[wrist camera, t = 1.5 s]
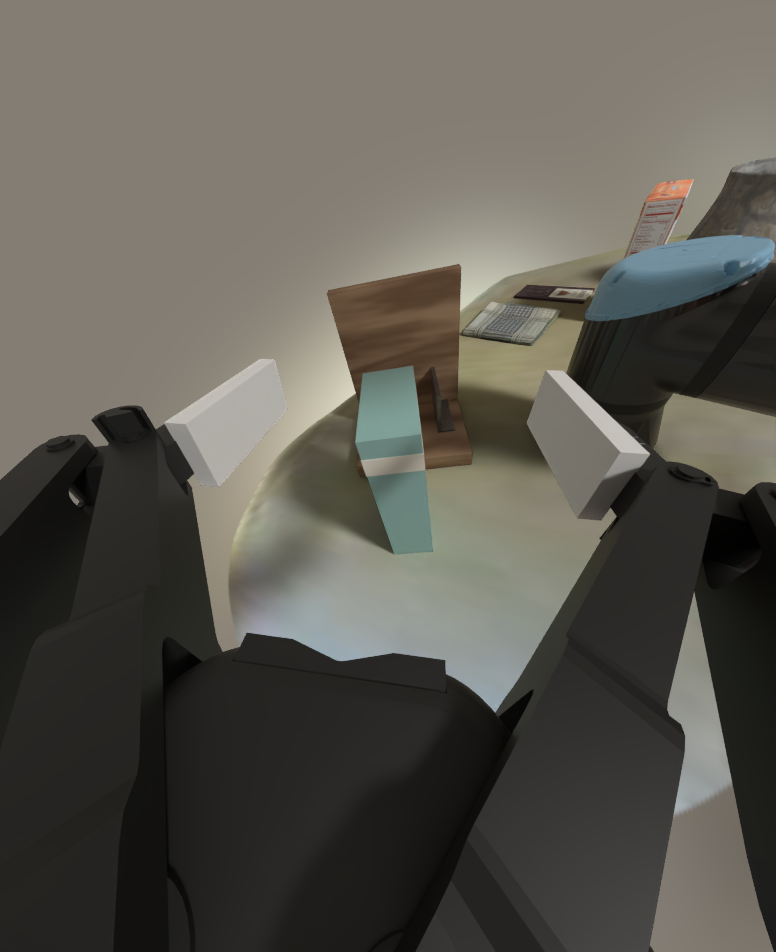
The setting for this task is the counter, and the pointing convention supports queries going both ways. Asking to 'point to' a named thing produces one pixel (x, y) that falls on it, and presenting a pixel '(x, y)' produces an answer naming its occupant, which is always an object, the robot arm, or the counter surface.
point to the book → (395, 456)
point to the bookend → (440, 407)
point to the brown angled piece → (409, 346)
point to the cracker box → (659, 215)
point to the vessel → (744, 204)
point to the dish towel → (512, 323)
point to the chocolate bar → (555, 293)
